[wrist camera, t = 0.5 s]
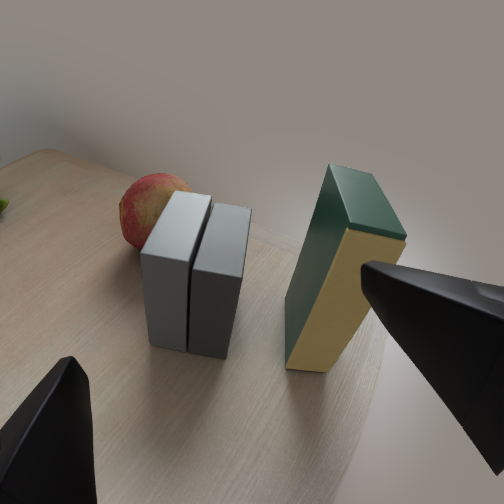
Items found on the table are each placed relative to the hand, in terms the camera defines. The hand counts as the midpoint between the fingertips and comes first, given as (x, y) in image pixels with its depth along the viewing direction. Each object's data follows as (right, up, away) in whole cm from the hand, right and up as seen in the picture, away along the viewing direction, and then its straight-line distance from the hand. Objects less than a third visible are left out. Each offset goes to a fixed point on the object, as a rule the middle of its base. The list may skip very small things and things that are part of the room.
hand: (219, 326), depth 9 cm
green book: (+6, -5, +19) cm, 20 cm away
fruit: (-9, +3, +25) cm, 26 cm away
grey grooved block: (-4, -3, +18) cm, 19 cm away
